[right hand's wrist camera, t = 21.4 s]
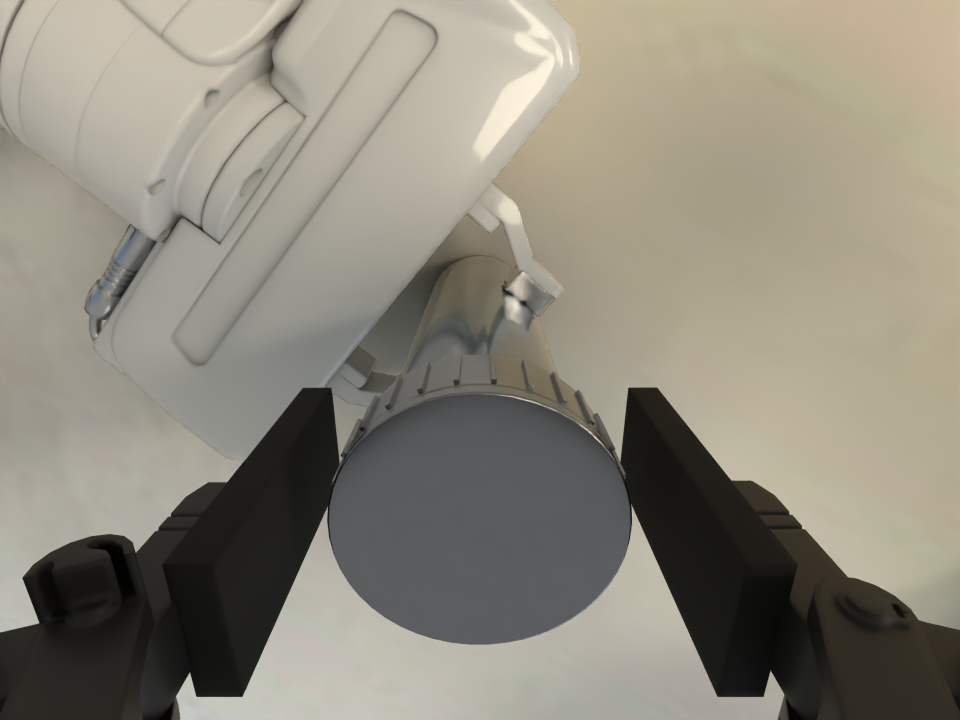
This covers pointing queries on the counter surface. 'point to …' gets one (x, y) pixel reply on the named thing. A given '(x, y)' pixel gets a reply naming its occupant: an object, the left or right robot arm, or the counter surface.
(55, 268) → the counter surface
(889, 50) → the counter surface
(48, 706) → the right robot arm
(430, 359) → the jar
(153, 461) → the counter surface
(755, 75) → the counter surface
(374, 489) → the lid
